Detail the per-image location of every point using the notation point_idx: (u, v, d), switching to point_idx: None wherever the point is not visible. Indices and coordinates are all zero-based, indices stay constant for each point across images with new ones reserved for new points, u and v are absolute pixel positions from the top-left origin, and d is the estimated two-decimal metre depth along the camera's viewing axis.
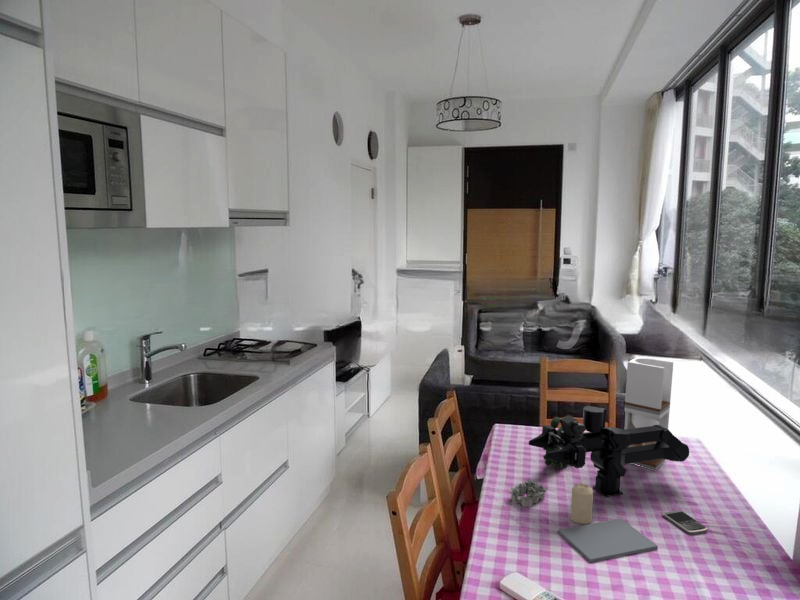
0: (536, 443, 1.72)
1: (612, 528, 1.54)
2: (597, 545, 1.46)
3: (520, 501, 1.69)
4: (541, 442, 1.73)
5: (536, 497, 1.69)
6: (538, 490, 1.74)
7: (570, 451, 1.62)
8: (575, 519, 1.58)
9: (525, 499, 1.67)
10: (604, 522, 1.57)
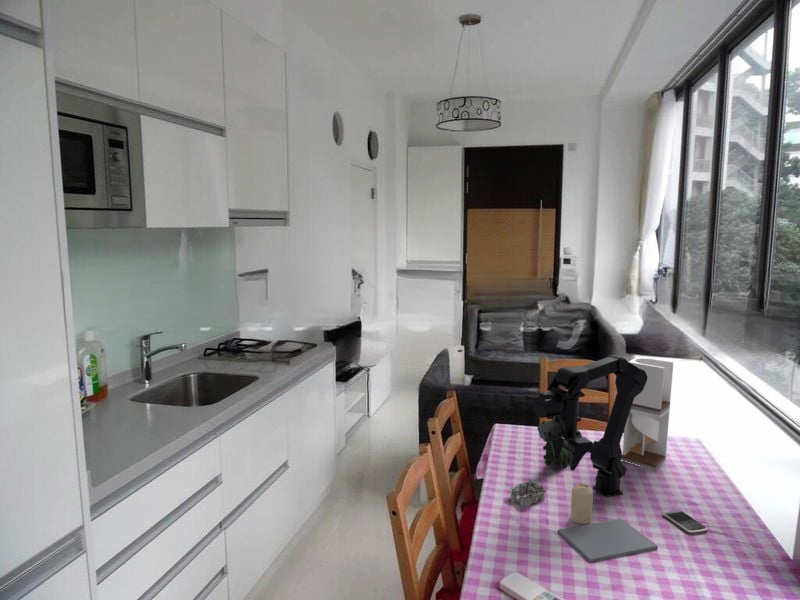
0: (558, 449, 1.71)
1: (612, 528, 1.54)
2: (597, 545, 1.46)
3: (519, 500, 1.69)
4: (558, 444, 1.70)
5: (535, 497, 1.69)
6: (538, 490, 1.74)
7: None
8: (575, 519, 1.58)
9: (524, 499, 1.67)
10: (604, 522, 1.57)
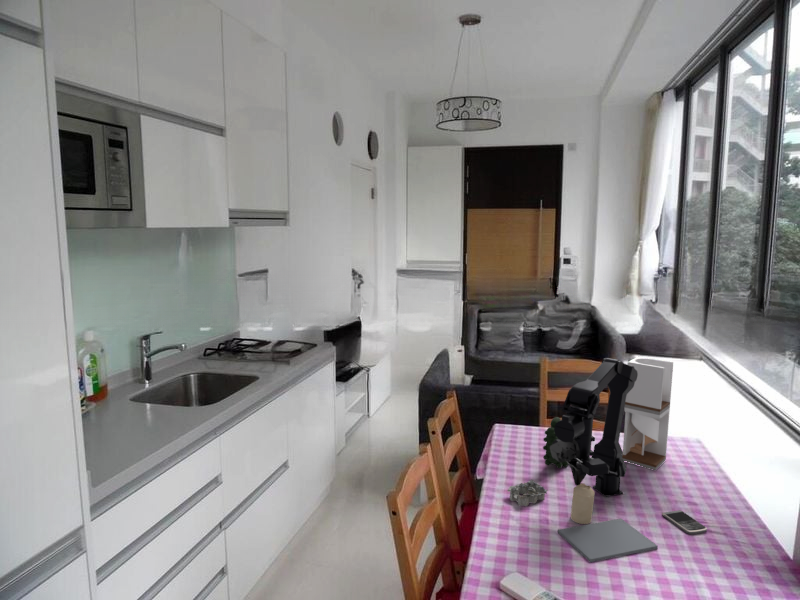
0: None
1: (612, 528, 1.54)
2: (597, 545, 1.46)
3: (517, 500, 1.70)
4: None
5: (534, 497, 1.69)
6: (539, 491, 1.73)
7: None
8: (575, 519, 1.58)
9: (521, 498, 1.67)
10: (604, 522, 1.57)
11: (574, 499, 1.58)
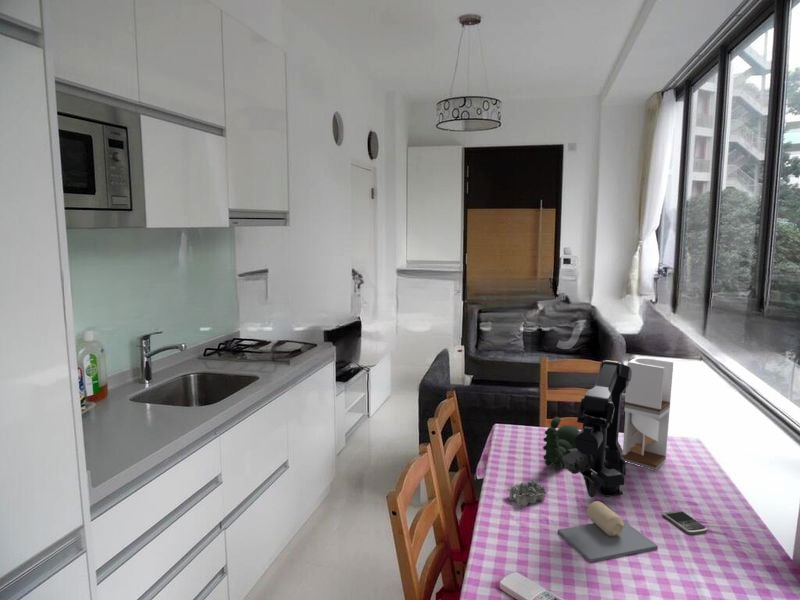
0: None
1: None
2: (597, 545, 1.46)
3: (516, 499, 1.70)
4: None
5: (533, 497, 1.69)
6: (540, 491, 1.73)
7: None
8: (589, 508, 1.56)
9: (520, 497, 1.68)
10: None
11: (604, 514, 1.51)
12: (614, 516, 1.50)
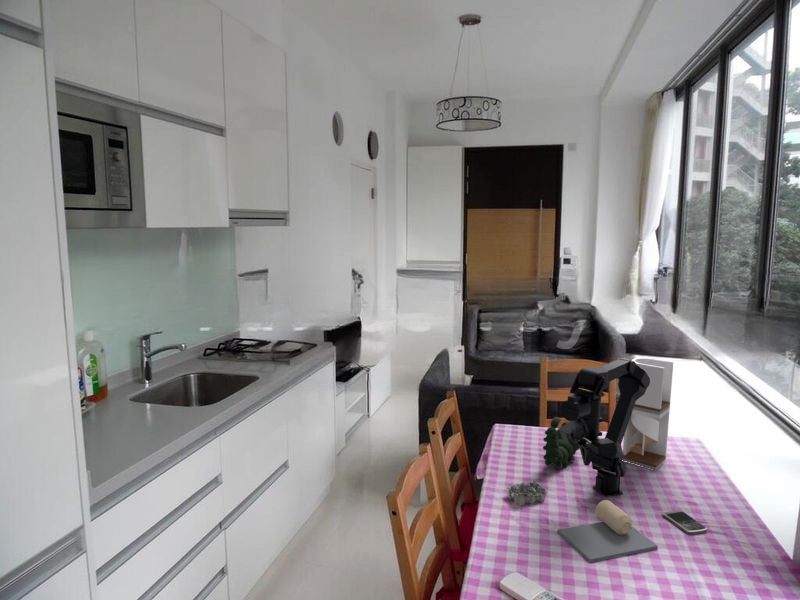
0: None
1: None
2: (597, 545, 1.46)
3: (515, 498, 1.71)
4: None
5: (531, 497, 1.69)
6: (540, 492, 1.73)
7: None
8: (606, 501, 1.57)
9: (517, 496, 1.68)
10: None
11: (622, 511, 1.53)
12: (630, 518, 1.51)
